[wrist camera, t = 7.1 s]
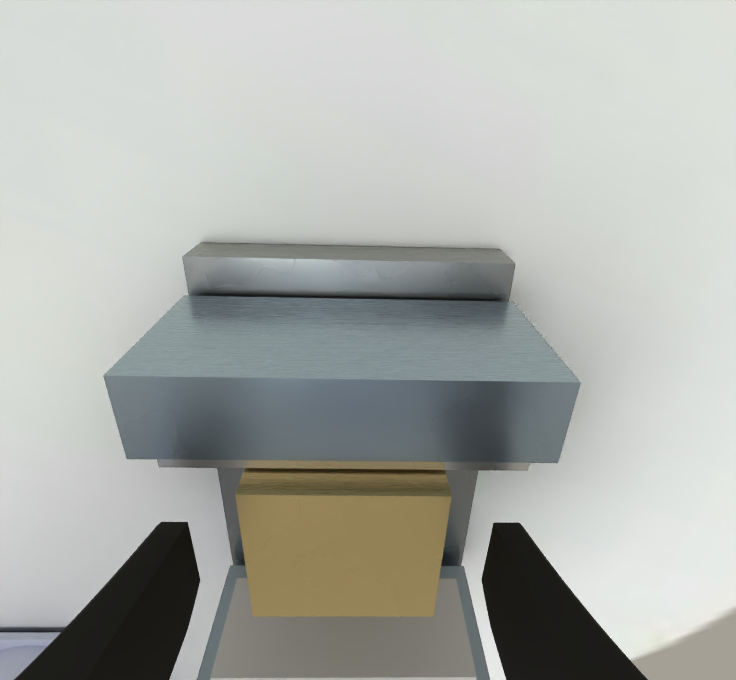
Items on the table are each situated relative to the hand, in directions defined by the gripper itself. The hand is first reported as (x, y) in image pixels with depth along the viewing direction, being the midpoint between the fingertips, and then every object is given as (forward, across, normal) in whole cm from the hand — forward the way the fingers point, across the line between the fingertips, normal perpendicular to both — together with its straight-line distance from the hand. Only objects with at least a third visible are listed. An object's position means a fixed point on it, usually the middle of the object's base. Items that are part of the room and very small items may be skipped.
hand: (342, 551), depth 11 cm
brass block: (+4, 0, 0) cm, 4 cm away
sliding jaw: (+4, 0, +7) cm, 8 cm away
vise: (+6, 0, +2) cm, 6 cm away
